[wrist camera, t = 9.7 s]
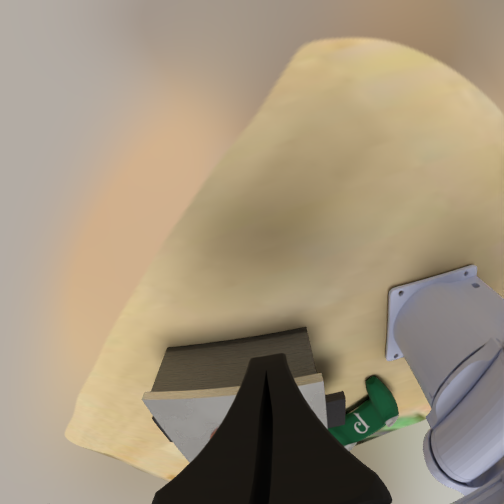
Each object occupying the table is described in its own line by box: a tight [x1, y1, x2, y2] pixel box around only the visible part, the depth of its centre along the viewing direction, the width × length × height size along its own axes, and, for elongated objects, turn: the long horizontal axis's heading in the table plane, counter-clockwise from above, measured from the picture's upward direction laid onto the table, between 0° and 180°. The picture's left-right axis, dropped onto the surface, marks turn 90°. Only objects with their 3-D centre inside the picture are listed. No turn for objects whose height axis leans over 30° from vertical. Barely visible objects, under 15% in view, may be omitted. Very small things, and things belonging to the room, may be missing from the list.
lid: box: [142, 373, 328, 462], centre depth 19 cm, size 13×13×1 cm
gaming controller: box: [328, 376, 399, 451], centre depth 25 cm, size 9×4×6 cm
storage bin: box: [151, 327, 345, 442], centre depth 23 cm, size 16×12×6 cm
